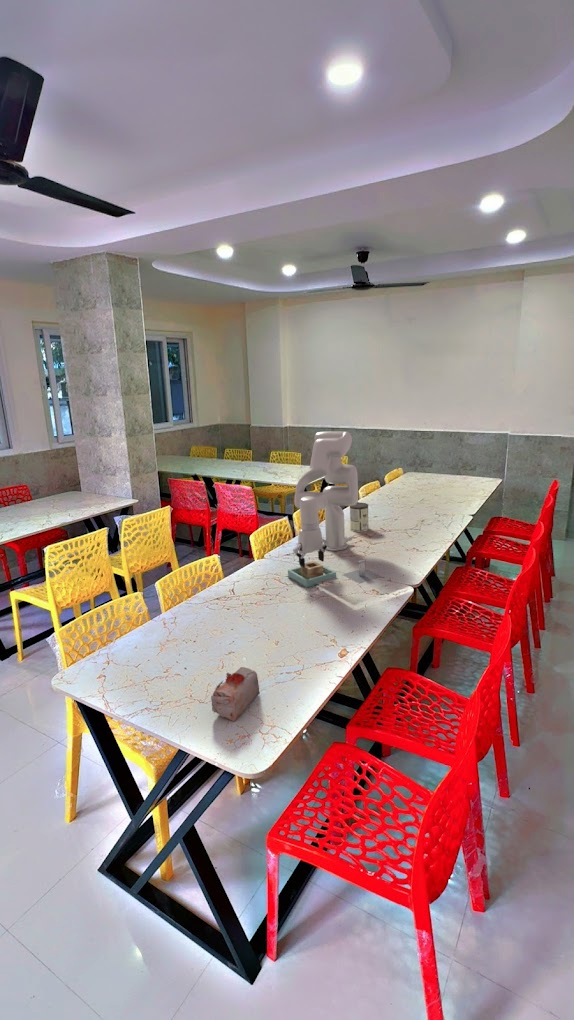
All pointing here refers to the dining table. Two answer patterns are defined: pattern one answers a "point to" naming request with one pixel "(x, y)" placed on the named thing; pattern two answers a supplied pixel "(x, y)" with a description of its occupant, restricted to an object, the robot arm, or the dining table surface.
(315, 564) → the oak collar
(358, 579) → the stake stand
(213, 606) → the dining table surface
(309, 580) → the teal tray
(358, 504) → the coffee can
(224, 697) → the food item
